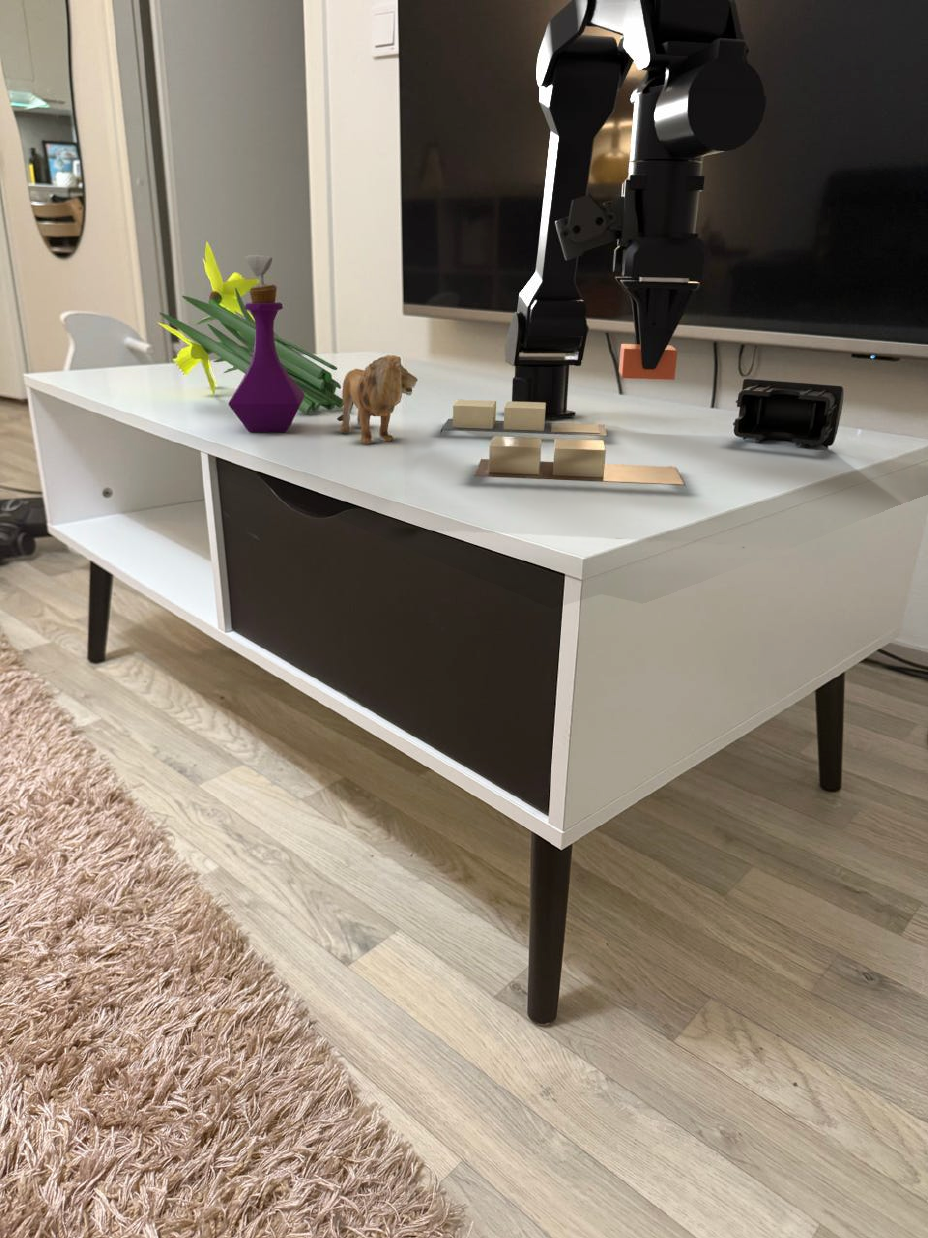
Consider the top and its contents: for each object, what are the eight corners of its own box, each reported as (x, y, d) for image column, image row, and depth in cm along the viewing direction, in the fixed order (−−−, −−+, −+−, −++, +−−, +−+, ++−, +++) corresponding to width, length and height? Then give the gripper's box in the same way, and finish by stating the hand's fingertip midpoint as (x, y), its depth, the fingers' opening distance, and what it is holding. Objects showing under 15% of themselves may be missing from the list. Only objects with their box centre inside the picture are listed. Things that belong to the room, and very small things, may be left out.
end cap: (835, 447, 97) (846, 382, 95) (826, 459, 91) (837, 390, 89) (741, 437, 102) (749, 375, 99) (726, 448, 96) (735, 382, 93)
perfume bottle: (240, 422, 104) (228, 253, 97) (306, 422, 105) (298, 255, 98) (230, 434, 97) (216, 254, 90) (300, 435, 98) (292, 255, 91)
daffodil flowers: (250, 429, 105) (107, 325, 123) (327, 473, 118) (186, 373, 136) (328, 303, 103) (171, 217, 122) (397, 362, 116) (245, 276, 134)
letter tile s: (621, 378, 76) (624, 348, 75) (618, 371, 80) (621, 343, 79) (674, 379, 76) (677, 350, 75) (668, 373, 80) (671, 345, 79)
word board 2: (473, 484, 78) (474, 447, 77) (480, 467, 85) (481, 432, 84) (684, 493, 77) (688, 456, 76) (675, 475, 83) (678, 440, 82)
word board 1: (440, 436, 98) (440, 406, 97) (447, 425, 105) (448, 397, 104) (606, 443, 97) (609, 412, 96) (604, 431, 103) (606, 402, 102)
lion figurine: (422, 445, 94) (423, 355, 90) (377, 450, 91) (376, 358, 88) (357, 423, 105) (355, 342, 102) (315, 426, 102) (312, 344, 99)
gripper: (564, 171, 81) (553, 351, 87) (563, 150, 64) (551, 376, 70) (690, 172, 80) (671, 355, 86) (723, 152, 63) (697, 381, 69)
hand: (646, 365), depth 78 cm, fingers closed on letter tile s, 4 cm apart
